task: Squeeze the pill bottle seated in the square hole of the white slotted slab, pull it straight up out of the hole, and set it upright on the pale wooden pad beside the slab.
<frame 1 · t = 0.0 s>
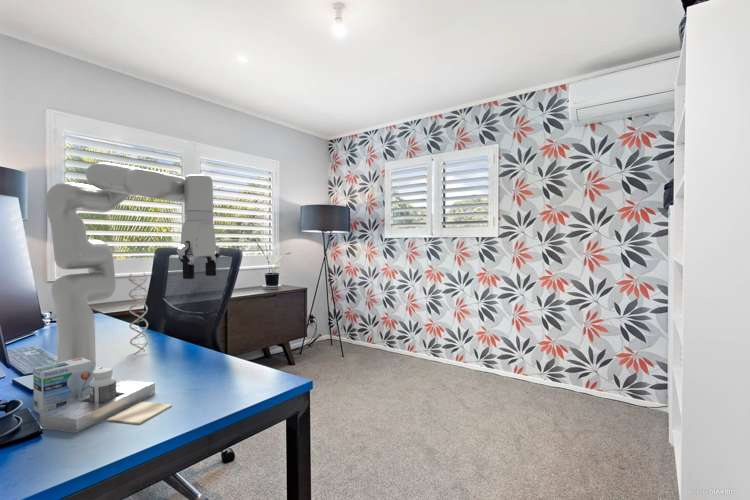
hand: (200, 277, 111), 31 cm above the table, tool pointing down, fingers open, 9 cm apart
light bulb box: (64, 406, 97), on the table
white slotted slab: (103, 409, 95), on the table
pill bottle: (103, 410, 95), resting in white slotted slab
dna model: (139, 353, 144), on the table
wooden pad: (140, 413, 93), on the table
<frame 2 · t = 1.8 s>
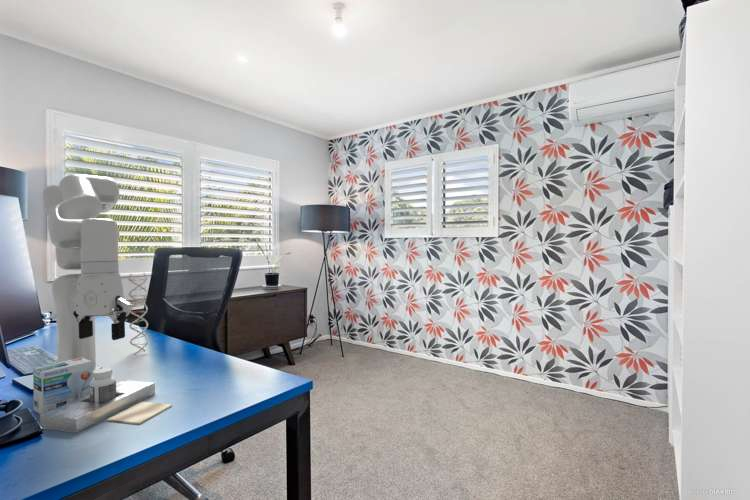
hand: (102, 338, 95), 18 cm above the table, tool pointing down, fingers open, 9 cm apart
nothing on the table moved.
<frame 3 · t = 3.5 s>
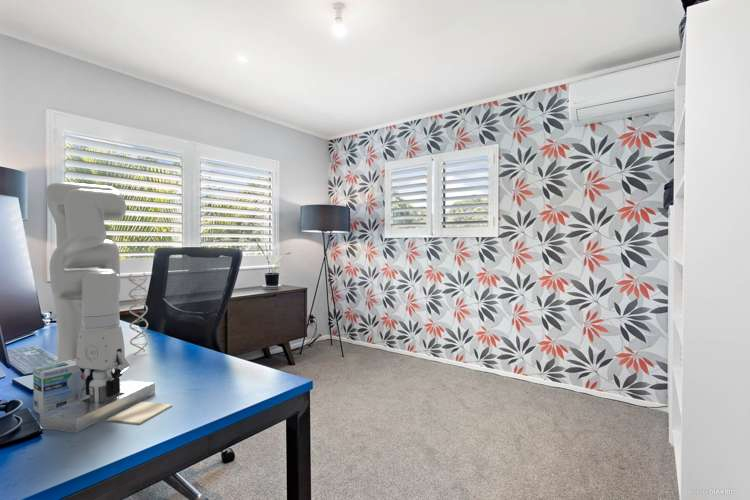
hand: (103, 393, 95), 4 cm above the table, tool pointing down, fingers closed on pill bottle, 5 cm apart
pill bottle: (103, 410, 95), resting in white slotted slab, touching gripper
everything else where it was.
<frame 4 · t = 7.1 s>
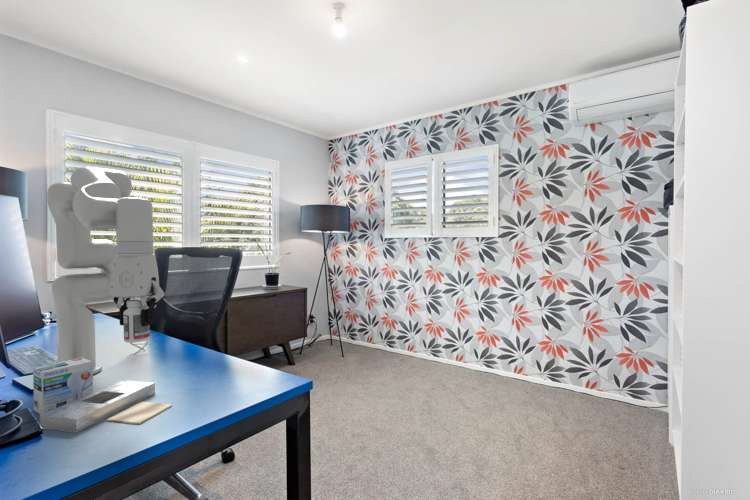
hand: (137, 323, 92), 22 cm above the table, tool pointing down, fingers closed on pill bottle, 5 cm apart
pill bottle: (137, 341, 93), point 18 cm above the table, touching gripper
everything else where it was.
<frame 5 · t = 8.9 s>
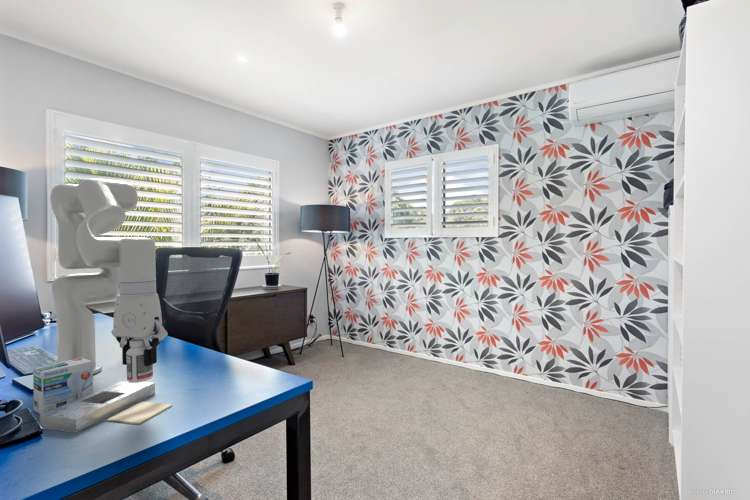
hand: (139, 363, 93), 12 cm above the table, tool pointing down, fingers closed on pill bottle, 5 cm apart
pill bottle: (140, 380, 93), point 8 cm above the table, touching gripper
everything else where it was.
when the fingers open (6 cm above the table, at t = 10.6 s): pill bottle drops 1 cm, resting on wooden pad.
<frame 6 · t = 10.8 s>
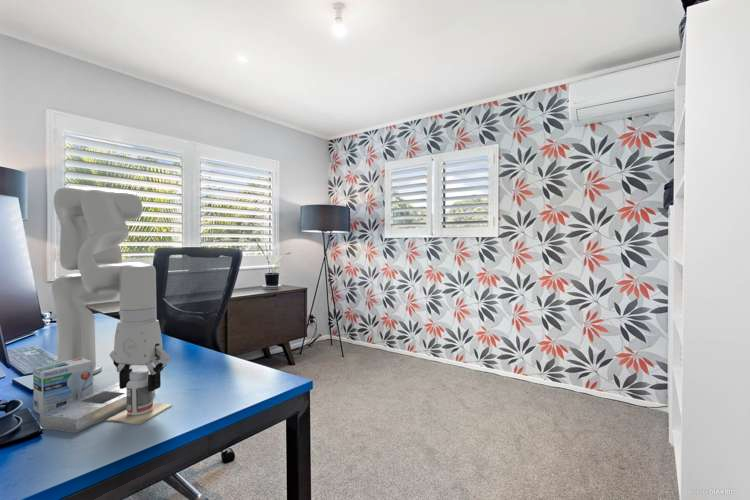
hand: (140, 387, 93), 6 cm above the table, tool pointing down, fingers open, 7 cm apart
pill bottle: (140, 412, 93), resting on wooden pad
everything else where it was.
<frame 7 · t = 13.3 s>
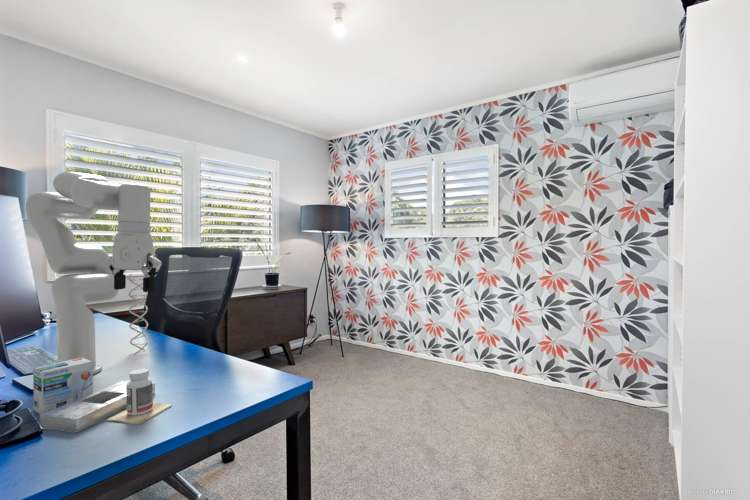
hand: (134, 290, 107), 28 cm above the table, tool pointing down, fingers open, 9 cm apart
nothing on the table moved.
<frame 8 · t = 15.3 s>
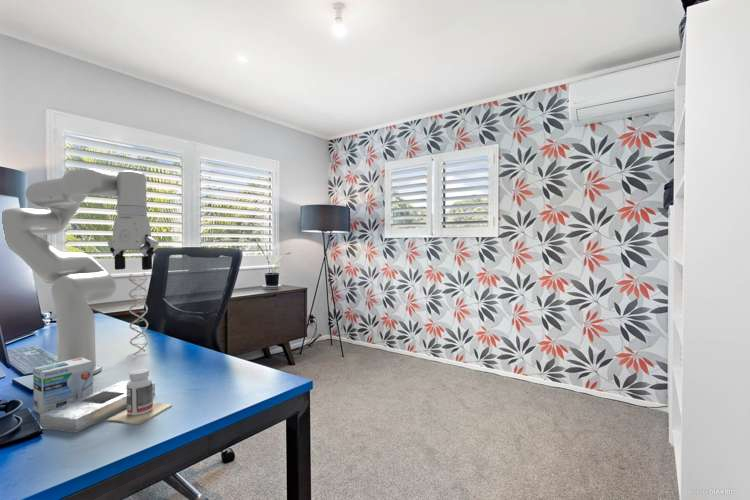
hand: (133, 269, 116), 33 cm above the table, tool pointing down, fingers open, 9 cm apart
nothing on the table moved.
at the end: pill bottle 0.3 cm off-centre on the wooden pad, point 0.2 cm above the wooden pad's base; pill bottle tilted 0°; the gripper is holding nothing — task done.
